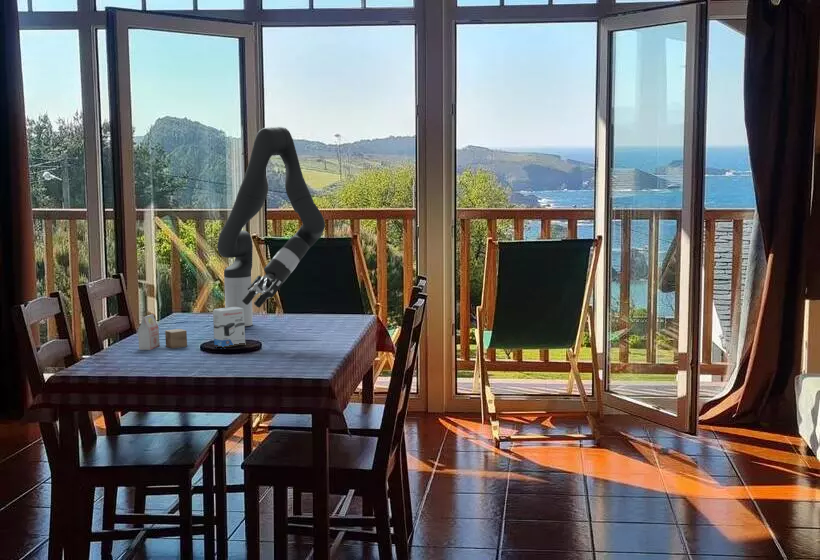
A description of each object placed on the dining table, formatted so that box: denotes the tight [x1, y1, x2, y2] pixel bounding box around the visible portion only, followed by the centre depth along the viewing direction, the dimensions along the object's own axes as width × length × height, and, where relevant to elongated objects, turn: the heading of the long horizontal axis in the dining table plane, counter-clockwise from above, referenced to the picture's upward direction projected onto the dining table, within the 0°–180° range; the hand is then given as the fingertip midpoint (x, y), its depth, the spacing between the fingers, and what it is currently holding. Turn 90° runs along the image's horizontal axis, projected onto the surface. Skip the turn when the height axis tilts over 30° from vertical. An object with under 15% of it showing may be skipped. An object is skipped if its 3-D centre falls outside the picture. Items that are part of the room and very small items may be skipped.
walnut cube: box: [164, 328, 188, 349], centre depth 298 cm, size 5×5×5 cm
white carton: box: [137, 313, 161, 351], centre depth 296 cm, size 4×7×10 cm, turn 171°
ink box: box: [212, 307, 246, 347], centre depth 296 cm, size 8×5×12 cm, turn 131°
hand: (250, 304), depth 299 cm, fingers open, 8 cm apart
